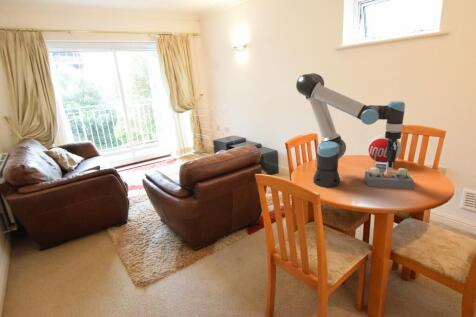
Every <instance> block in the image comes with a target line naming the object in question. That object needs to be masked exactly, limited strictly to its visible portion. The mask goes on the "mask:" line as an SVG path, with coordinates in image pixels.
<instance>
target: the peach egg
mask: <svg viewBox="0 0 476 317" xmlns="http://www.w3.org/2000/svg"><path fill="white" fill-rule="evenodd" d="M393 172H394V171H392V173H386V171H385V172H384V177H390V178H393Z"/></svg>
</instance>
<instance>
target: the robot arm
mask: <svg viewBox="0 0 476 317" xmlns="http://www.w3.org/2000/svg"><path fill="white" fill-rule="evenodd" d="M295 87H296V91H297V92H298V93H299V94H300V95H302V96H304V97H305V100H306V101H309V103H310V105H311V108H312V111H313V115H314V117H315V120H316V123H317V126H318V129H319V131H320V135H321V137H322V138H321V141H320V143H319V144H317V149H316V169H315V173H314V176H313V177H312V182H313V183H314V184H315V185H317V186H320V187H325V188H326V187H327V188H334V187H338V186H340V185H341V178H340V174H339V170H338V169H339V159H341V158H342V157H343V156H344V155H345V154H346V150H347V145H346V144H347V143H346V142H345V141H344V140H343V139H342V137H341V134H339V133H337V130H336V128H335V124H334V121H333V118H332V115H331V113H330V109H329V106H331V107H333V108H335V109H337V110H339V111H341V112H343V113H346V114H347V115H350V116H352V117H354V118H356V119H358V120H360V121H361V122H362V123H363V124H364V125H368V126H369V125H373V124H376V122H377V121H379V120H382V121H383V120H384V121H386V125H385V133H384V134H385V138H387V139H388V141H387V152H386V158H387V165H386V173H392V172H393V166H394V162H395V161H396V160H395V157H396V152H397V149H398V146H397V141H396V140H397V139H398V140H400V139H401V138H402V134H403V133H402V130H403V127H404V118H405V117H404V116H405V111H406V110H405V108H406V106H405V105H406V103H405V102H404V101H399V100H396V101H395V100H393V101H389V102H388V104H387V105H376V104H375V105H373V104H369V105H366V104H364V103H362V102H360V101H358V100H355V99H353V98H351V97H348V96H346V95H345V94H342V93H340V92H337V91H335V90H333V89H331V88H328V87H327V86H325V80H324V78H323V76H321V75H320V74H319V73H314V72H313V73H306V74H302V75H300V76H299V77H298V78H297V80H296V84H295ZM328 105H329V106H328Z"/></svg>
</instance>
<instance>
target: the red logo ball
mask: <svg viewBox="0 0 476 317" xmlns="http://www.w3.org/2000/svg"><path fill="white" fill-rule="evenodd" d="M387 141H388V139H387V138H385V133H383V134H378V135H375V136H374V137H373V138H372V139H371V140H370V141H369V143H368V146H367V152H368V155H369V157H370V158H371V159H372V160H373V161H374V162H375V163H376V162H384V163H387V158H386V152H387ZM396 141H397V146H398V149H397V152H396V157H395V161H396V160H397V159H398V158H399V156H400V155H401V151H402V145H401V142H400V141H399V139H397V140H396Z"/></svg>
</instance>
